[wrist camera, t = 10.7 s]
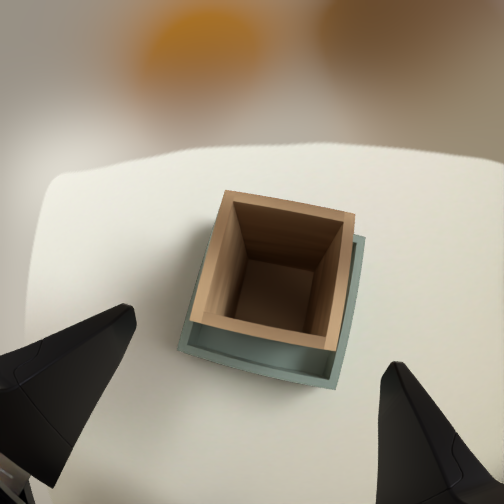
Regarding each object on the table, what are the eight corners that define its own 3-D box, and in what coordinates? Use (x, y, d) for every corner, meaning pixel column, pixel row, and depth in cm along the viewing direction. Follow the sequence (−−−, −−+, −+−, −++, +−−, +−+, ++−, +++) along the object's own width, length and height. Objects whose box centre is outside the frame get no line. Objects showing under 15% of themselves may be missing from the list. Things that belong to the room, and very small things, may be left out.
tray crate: (326, 383, 19) (335, 390, 17) (188, 349, 21) (176, 350, 18) (354, 249, 22) (365, 237, 20) (226, 220, 24) (220, 204, 21)
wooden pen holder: (305, 345, 20) (335, 351, 10) (226, 329, 21) (189, 320, 11) (320, 268, 22) (355, 213, 12) (244, 253, 22) (225, 189, 13)
